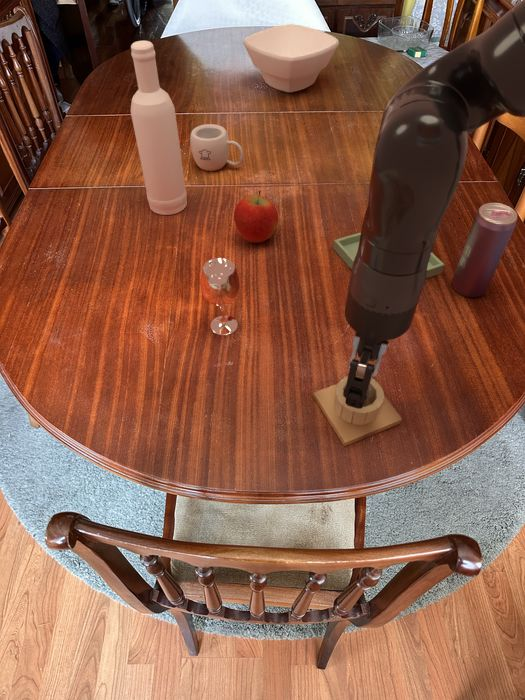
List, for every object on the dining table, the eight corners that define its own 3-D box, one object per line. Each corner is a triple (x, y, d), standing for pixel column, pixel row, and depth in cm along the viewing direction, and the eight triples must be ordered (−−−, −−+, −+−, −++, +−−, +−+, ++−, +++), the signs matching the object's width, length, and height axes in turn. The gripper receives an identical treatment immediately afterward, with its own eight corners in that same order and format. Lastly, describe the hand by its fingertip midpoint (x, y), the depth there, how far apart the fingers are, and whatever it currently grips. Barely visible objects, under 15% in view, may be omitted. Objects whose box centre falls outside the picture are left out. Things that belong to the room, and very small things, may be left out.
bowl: (234, 84, 144) (232, 39, 135) (289, 64, 154) (291, 20, 145) (289, 110, 133) (291, 62, 125) (345, 86, 143) (350, 40, 134)
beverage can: (490, 299, 86) (524, 224, 75) (455, 298, 86) (483, 224, 75) (481, 275, 90) (511, 201, 79) (447, 275, 90) (473, 201, 79)
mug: (187, 171, 113) (182, 137, 108) (201, 153, 119) (197, 120, 113) (237, 179, 111) (236, 145, 105) (249, 161, 116) (249, 127, 110)
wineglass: (221, 344, 80) (215, 287, 71) (199, 324, 83) (190, 267, 73) (249, 326, 82) (246, 269, 73) (226, 307, 85) (222, 250, 76)
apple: (229, 231, 99) (226, 185, 91) (267, 222, 101) (267, 176, 93) (243, 255, 94) (241, 209, 86) (283, 245, 96) (285, 199, 88)
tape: (364, 381, 73) (367, 368, 71) (389, 415, 70) (393, 402, 67) (325, 396, 72) (327, 383, 69) (348, 431, 68) (351, 419, 66)
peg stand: (366, 376, 75) (372, 352, 71) (401, 423, 70) (409, 400, 66) (312, 396, 73) (315, 372, 69) (344, 446, 68) (349, 424, 63)
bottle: (149, 217, 102) (116, 54, 79) (148, 196, 107) (117, 37, 84) (189, 213, 103) (167, 51, 80) (186, 192, 108) (165, 34, 85)
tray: (396, 229, 99) (398, 221, 97) (441, 273, 90) (444, 264, 89) (333, 248, 95) (334, 240, 94) (373, 295, 87) (375, 287, 85)
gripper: (408, 343, 49) (378, 432, 61) (430, 255, 57) (401, 348, 70) (332, 323, 50) (318, 413, 63) (365, 240, 59) (348, 334, 71)
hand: (362, 379), depth 66 cm, fingers open, 8 cm apart
